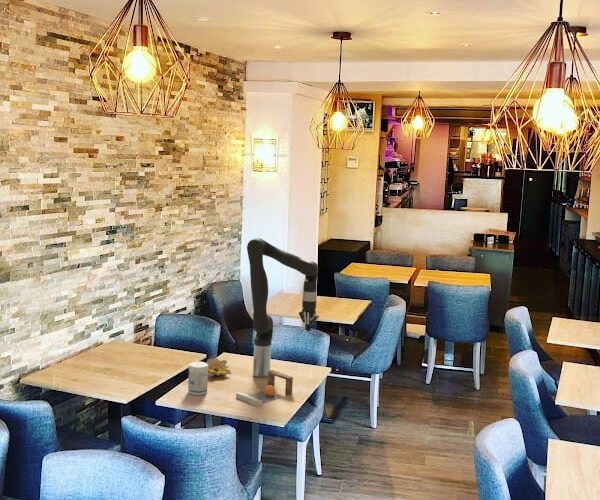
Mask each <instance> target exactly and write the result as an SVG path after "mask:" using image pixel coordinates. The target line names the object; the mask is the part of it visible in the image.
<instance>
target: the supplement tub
mask: <svg viewBox="0 0 600 500" xmlns="http://www.w3.org/2000/svg"><path fill="white" fill-rule="evenodd" d="M208 380H209V377H208V364H207V362H204V361H193V362H190V363H189V366H188V381H187V382H188V383H187V384H188V386H187V387H188V388H187V392H188V393H189V394H190V395H193V396H202V395H205V394H207V393H208V383H209V381H208Z"/></svg>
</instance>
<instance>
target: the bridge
mask: <svg viewBox="0 0 600 500" xmlns="http://www.w3.org/2000/svg"><path fill="white" fill-rule="evenodd" d="M275 377H277V378H281V379H283V380H285V390H284V393H285V394H284V395H285V396H288V397H289V396H291V395H293V385H294V384H293V383H294V382H293V381H294V380H293V379H294V377H293V376H292V375H288V374H285V373H283V372H279V371H277V370H273V369H270V371H268V376H267V386H268V385H272V386H273V387H274V388H275Z"/></svg>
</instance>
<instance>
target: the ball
mask: <svg viewBox="0 0 600 500" xmlns="http://www.w3.org/2000/svg"><path fill="white" fill-rule="evenodd" d="M263 391H264V392H265V394H266V395H267V396H272V395H275V393H276V388H275V386H274V387H273V386H272V385H268V384H267V385H266V386H265V387H264V389H263Z"/></svg>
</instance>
